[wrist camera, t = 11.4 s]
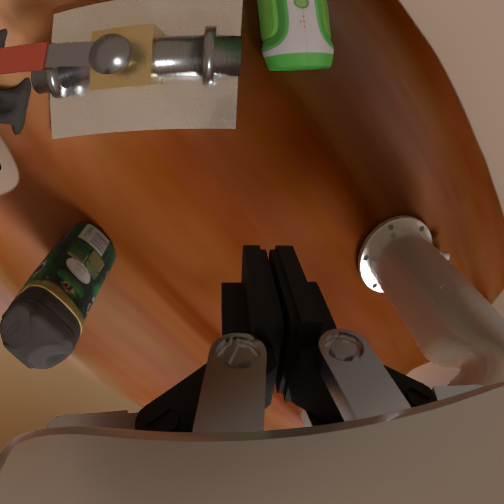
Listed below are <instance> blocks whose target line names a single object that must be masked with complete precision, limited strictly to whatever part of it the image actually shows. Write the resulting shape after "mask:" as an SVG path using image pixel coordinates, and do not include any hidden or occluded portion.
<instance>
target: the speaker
mask: <svg viewBox="0 0 504 504" xmlns="http://www.w3.org/2000/svg"><path fill="white" fill-rule="evenodd" d="M257 4H258V12H259V20H260V30H261V39H262V41H263V42H264V43H263V47H262V54H263V57H264V60H265V63H266V65H267V67H268V69H269V70H270V71H294V70H315V69H328V68H330V67H331V65H332V61H333V54H334V46H333V44H332V42H331V29H330V21H329V13H328V5H327V0H257Z"/></svg>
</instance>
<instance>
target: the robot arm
mask: <svg viewBox="0 0 504 504" xmlns="http://www.w3.org/2000/svg"><path fill="white" fill-rule="evenodd" d="M449 257H450V255H449V252H447V251H441V252H440V251H439V250H438V249H437V248H436V247H435V246H434V245H433V242H432V236H431V233H430V231H429V229H428V228H427V226H426V225H425V224H424V223H423V222H422V221H420V220H419V219H417V218H415V217H412V216H407V215H401V216H395V217H392V218H389V219H387V220H385V221H384V222H382V223H380V224H379V225H378V226H377V227H375V228H374V229H373V230H372V231H371V232H370V234H369V235H368V236H367V238H366V239H365V241H364V242H363V244H362V247H361V249H360V252H359V256H358V271H359V274H360V277H361V278H362V280H363V281H364V283H365V284H366V285H367V286H368V287H369V288H370V289H372V290H374V291H377V292H382V293H384V294H385V295H386V296H387V298H388V299H389V301H390V302H391V304H392V305H393V307H394V309H395V310H396V312H397V313H398V315H399V316H400V318H401V319H402V321H403V322H404V324H405V325H406V327H407V329H408V330H409V332H410V333H411V335H412V337H413V338H414V340H415V341H416V343H417V345H418V346H419V348H420V350H421V351H422V353H423V354H424V355H425V357H426V358H427V359H428V360H429V361H431V362H432V363H434V364H436V365H439V366H441V367H445V368H451V369H459V370H460V372H459V373H458V375H457V376H456V377H455V378H454V379H453V380H452V381H451V382H450V383H449V384H448V385H447V386H434V387H433V388H432V390H431V389H430V388H429V387H427V386H426V385H424V384H423V383H420V382H418V381H416V380H414V379H412V378H410V377H408V376H406V375H404V374H401V373H399V372H397V371H395V370H393V369H391V368H389V367H387V366H385V365H383V364H382V363H381V361H380V360H379V359H378V357H377V356H376V354H375V353H374V351H373V350H372V348H371V347H370V346H369V344H368V343H367V341H366V340H365V339H364V338H363V337H362V336H361V335H359V334H358V333H356V332H354V331H351V330H348V329H341V328H340V329H337V328H336V325H335V323H334V321H333V318H332V316H331V314H330V311H329V309H328V307H327V305H326V302H325V300H324V298H323V295H322V293H321V291H320V289H319V286H318V284H317V283H316V282H307V280H306V277H305V275H304V272H303V270H302V268H301V265H300V263H299V260H298V258H297V255H296V253H295V251H294V248H293V246H276V247H275V250H270V252H269V260H268V256H267V252H266V250H261V249H260V245H243V257H242V279H241V283H222V336H221V337H219V338H217V339H216V340H215V341H214V342H213V344H212V346H211V348H210V351H209V356H208V360H207V363H206V364H205V365H204V366H202V367H201V368H199V369H198V370H197V371H195V372H194V373H192V374H191V375H190V376H188V377H187V378H185V379H184V380H182V381H181V382H180V383H178V384H177V385H175V386H174V387H172V388H171V389H169V390H168V391H167V392H165V393H164V394H162V395H161V396H159V397H158V398H156V399H155V400H153V401H152V402H150V403H149V404H147V405H146V406H145V407H144V408H142V409H141V410H140V411H139V412H138V413H128V411H127V410H124V411H113V412H101V413H86V414H65V415H61V416H57V417H55V418H53V419H52V420H50V422H49V423H48V424H47V426H46V428H45V429H40V430H35V431H31V432H28V433H25V434H22V435H20V436H17V437H16V438H14V439H12V440H11V441H10V442H9V443H8V444H7V445H6V446H5V447H4V449H3V450H2V451H1V453H0V504H504V317H503V316H502V315H501V314H500V313H499V312H498V311H497V310H496V309H495V308H494V307H493V306H492V305H491V304H490V303H489V302H488V301H487V300H486V299H485V298H484V297H483V296H482V294H481V293H480V292H479V291H478V290H477V289H476V288H475V287H474V286H473V285H472V284H471V283H470V282H469V281H468V280H467V279H466V278H465V277H464V276H463V275H462V274H461V273H460V272H459V271H458V270H457V269H456V268H455V267H454V266H453V265H452V264H451V263H450V262H449V261H448V260H449ZM275 384H276V389H277V393H283V396H284V401H285V402H292V403H294V404H296V405H297V406H299V407H300V410H299V411H300V415H301V418H302V420H303V423H304V425H305V427H302V428H293V429H282V430H270V431H264V411H265V409H266V408H267V407H268V406H269V405H270V404H271V399H272V394H273V391H274V385H275Z"/></svg>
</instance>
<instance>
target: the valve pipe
mask: <svg viewBox="0 0 504 504" xmlns="http://www.w3.org/2000/svg"><path fill="white" fill-rule="evenodd" d="M242 6H243V0H113V1H107V2H102V3H97V4H92V5H88V6H83V7H79V8H75V9H71V10H67V11H63V12H60V13H56V14H54V18H53V28H52V41H51V43H69V42H92V41H96V40H97V39H99V38H100V37H102V36H103V35H106V34H111V33H115V34H119V35H121V36H123V37H125V38H127V39H128V40H129V41H130V42H131V44H132V47H133V56H132V59H131V61H130V63H129V64H128V66H127V67H126V68H125V69H124V70H122V71H121V72H119V73H116V74H101V73H98V72H96V71H95V70H93V68H92V67H91V66H79V67H51V68H50V70H38V71H31V81H32V85H33V88H34V90H35V91H36V92H37V93H39V94H42V93H46V92H50V108H51V129H52V139H57V138H64V137H72V136H80V135H89V134H99V133H109V132H122V131H137V130H156V129H199V128H209V129H236V109H237V90H238V77H239V76H240V68H241V56H242V36H241V21H242Z"/></svg>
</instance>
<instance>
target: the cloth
mask: <svg viewBox="0 0 504 504" xmlns="http://www.w3.org/2000/svg"><path fill="white" fill-rule="evenodd" d="M6 36H7V30H6V29H3V30H1V31H0V49H1V48H4V45H5V40H6ZM30 92H31V82H30V79H29V78H25V79H24V80H23V81H22V82H21V83H20V84H18V85H17V86H15V87H12V88H9V89H0V123H6V124H11V125H12V128H13V133H14V134H15V135H17V134H20V132H21V130H22V128H23V125H24V121H25V114H26V109H27V105H28V100H29V96H30ZM0 170H1V164H0Z"/></svg>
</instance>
